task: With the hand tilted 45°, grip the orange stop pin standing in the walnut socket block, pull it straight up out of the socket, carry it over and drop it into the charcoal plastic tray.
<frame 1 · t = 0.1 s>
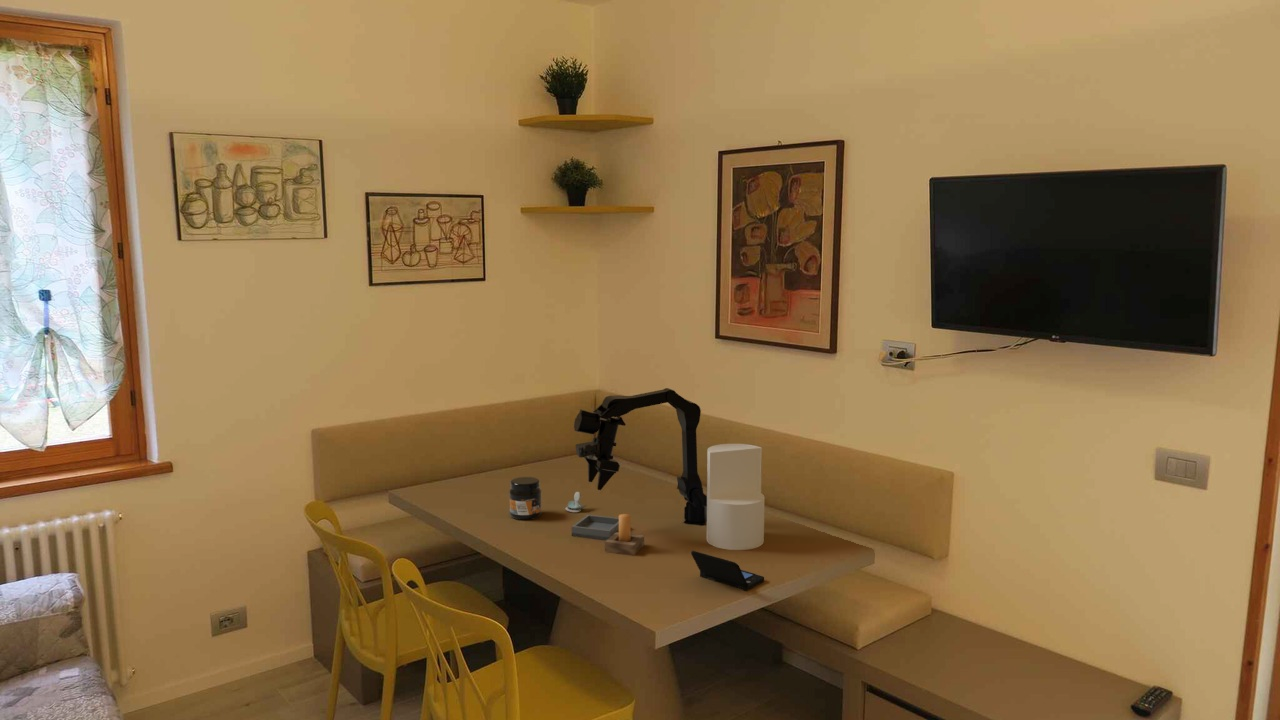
hand: (594, 485, 272), 15 cm above the table, tool pointing down, fingers open, 9 cm apart
supplement container: (525, 516, 293), on the table
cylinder: (735, 540, 269), on the table
stop pin: (624, 532, 261), in the socket block
game console: (727, 582, 237), on the table
socket block: (624, 548, 262), on the table
tray: (598, 531, 277), on the table
pacifier: (574, 511, 299), on the table
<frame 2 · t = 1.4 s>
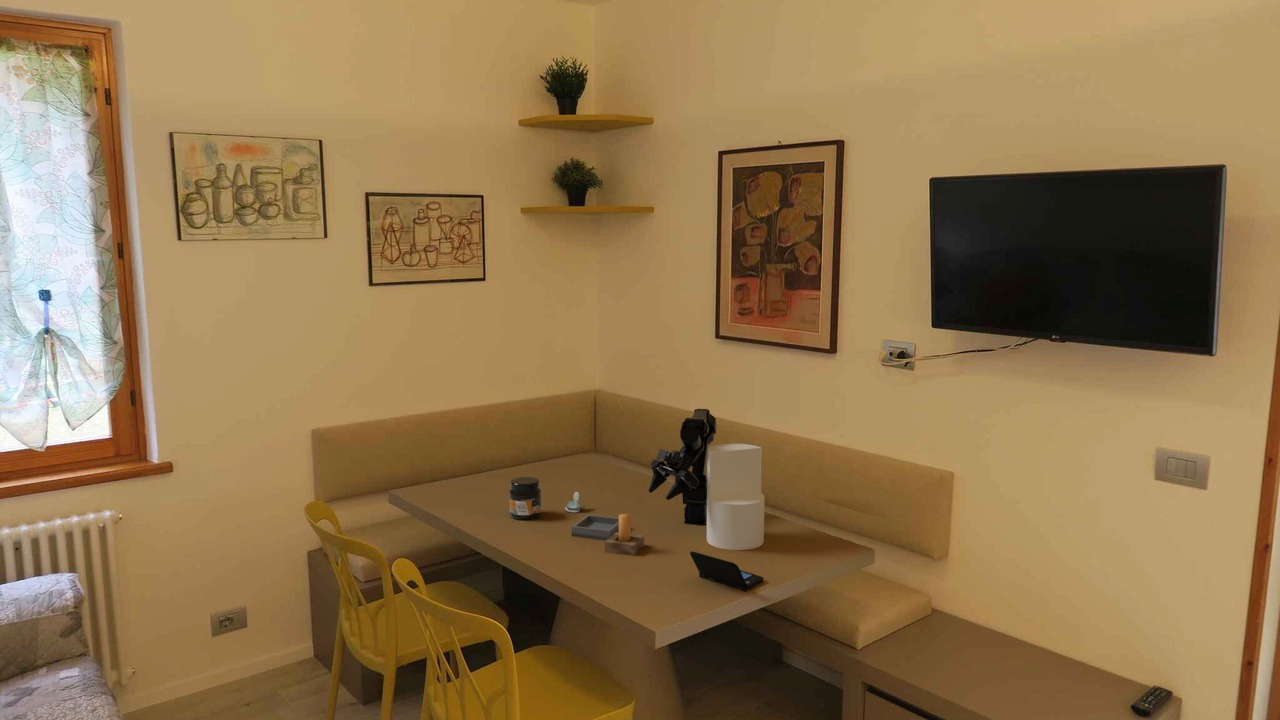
hand: (658, 495, 268), 14 cm above the table, tool tilted 45°, fingers open, 9 cm apart
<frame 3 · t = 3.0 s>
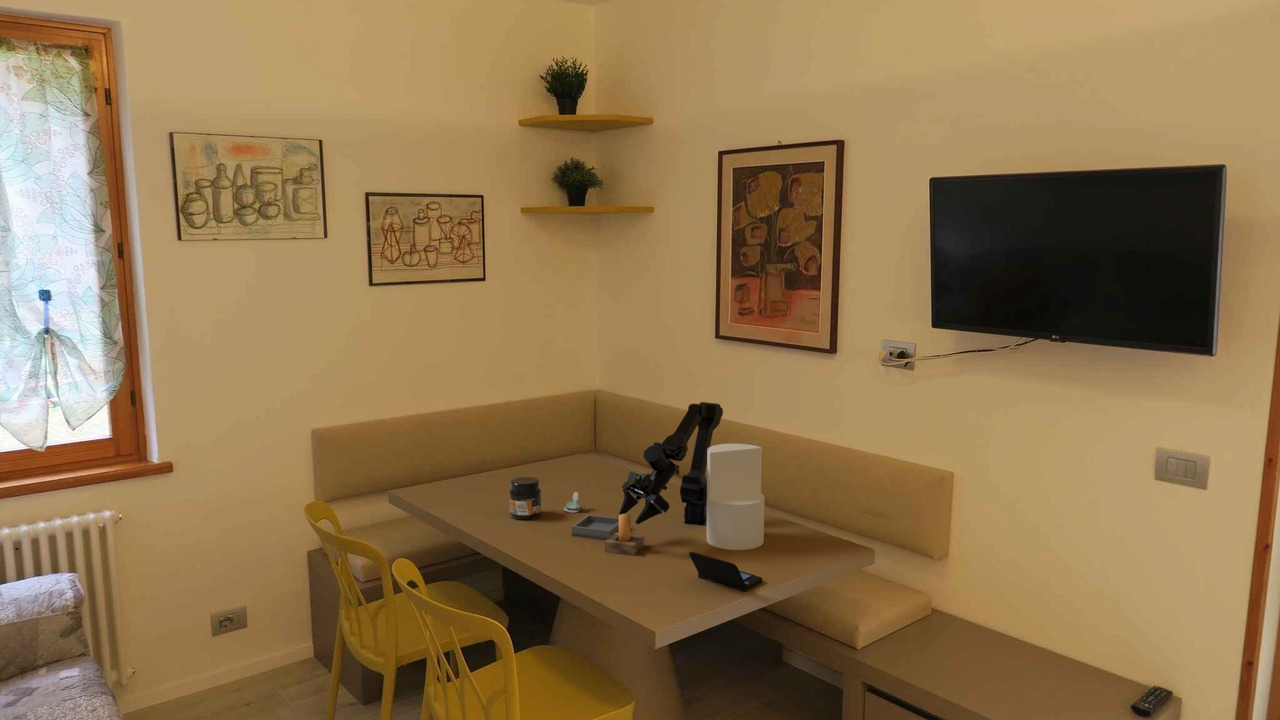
hand: (628, 519, 261), 9 cm above the table, tool tilted 45°, fingers open, 9 cm apart
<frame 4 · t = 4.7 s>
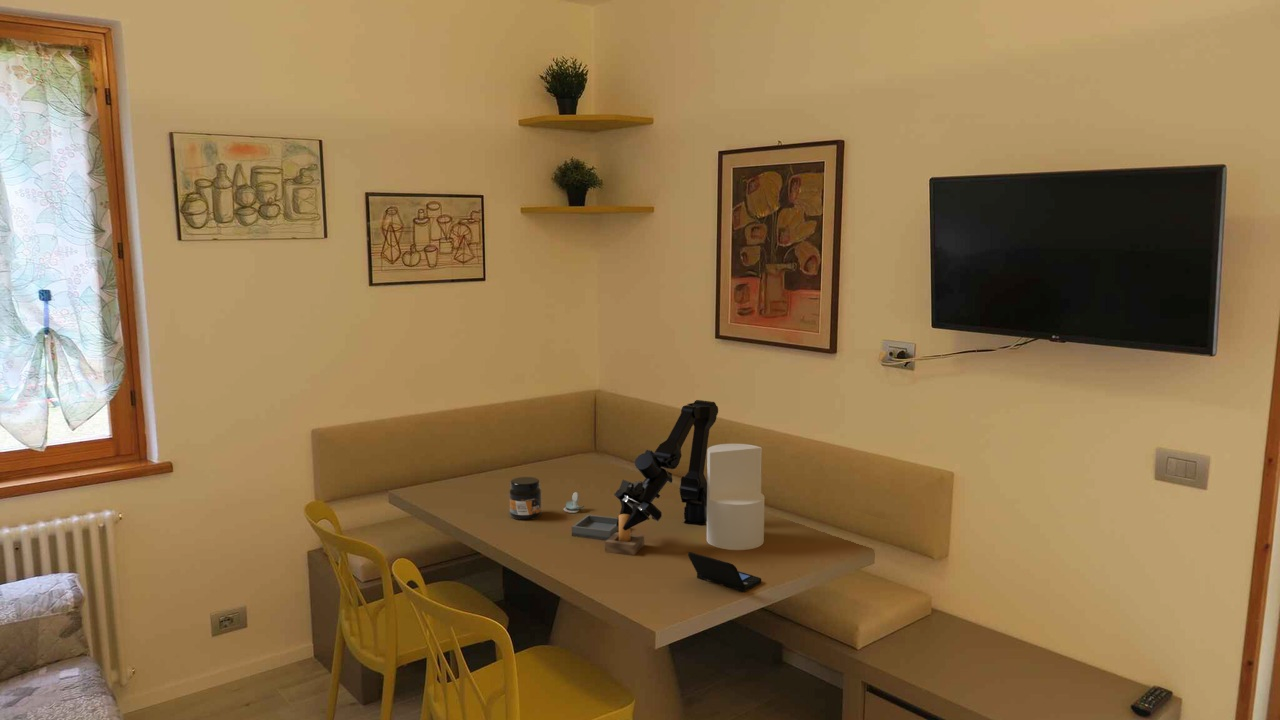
hand: (620, 527, 260), 7 cm above the table, tool tilted 45°, fingers closed on stop pin, 3 cm apart
stop pin: (624, 532, 261), in the socket block, touching gripper
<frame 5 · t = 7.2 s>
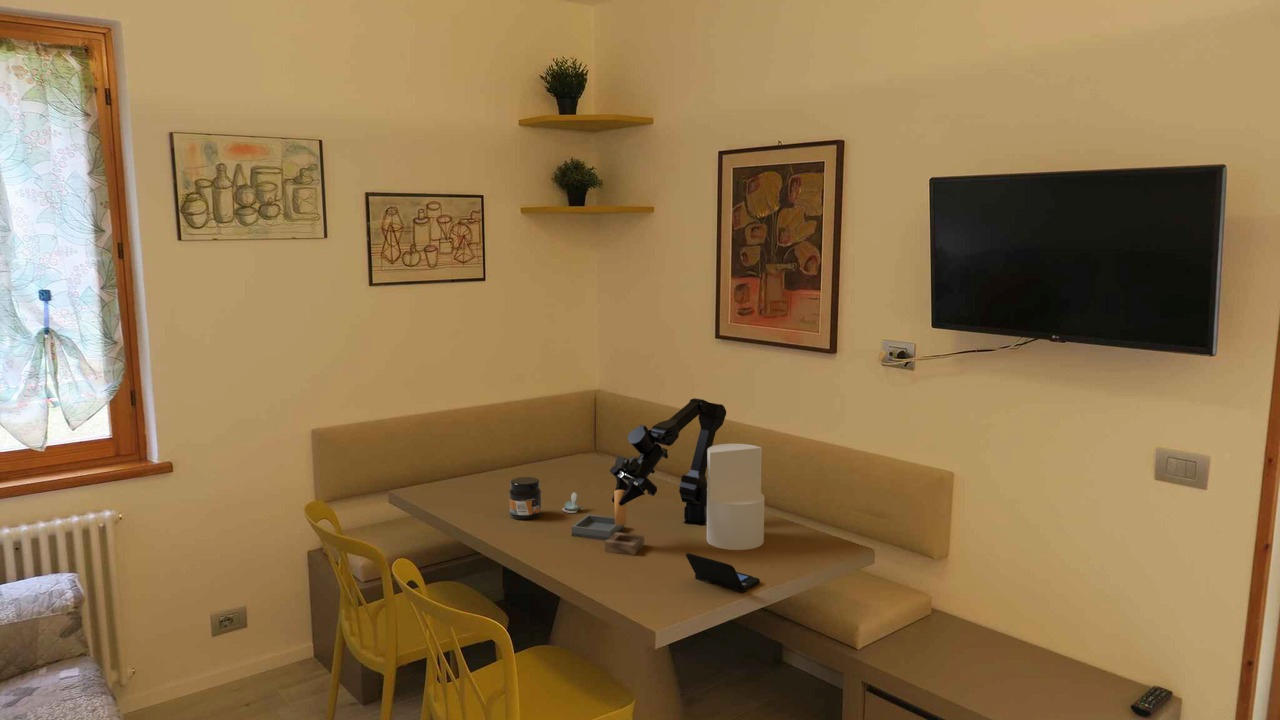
hand: (616, 503, 262), 13 cm above the table, tool tilted 45°, fingers closed on stop pin, 3 cm apart
stop pin: (620, 507, 263), point 12 cm above the table, touching gripper
when the fingers open (9 cm above the table, at t = 9.8 s): stop pin drops 2 cm, resting on tray.
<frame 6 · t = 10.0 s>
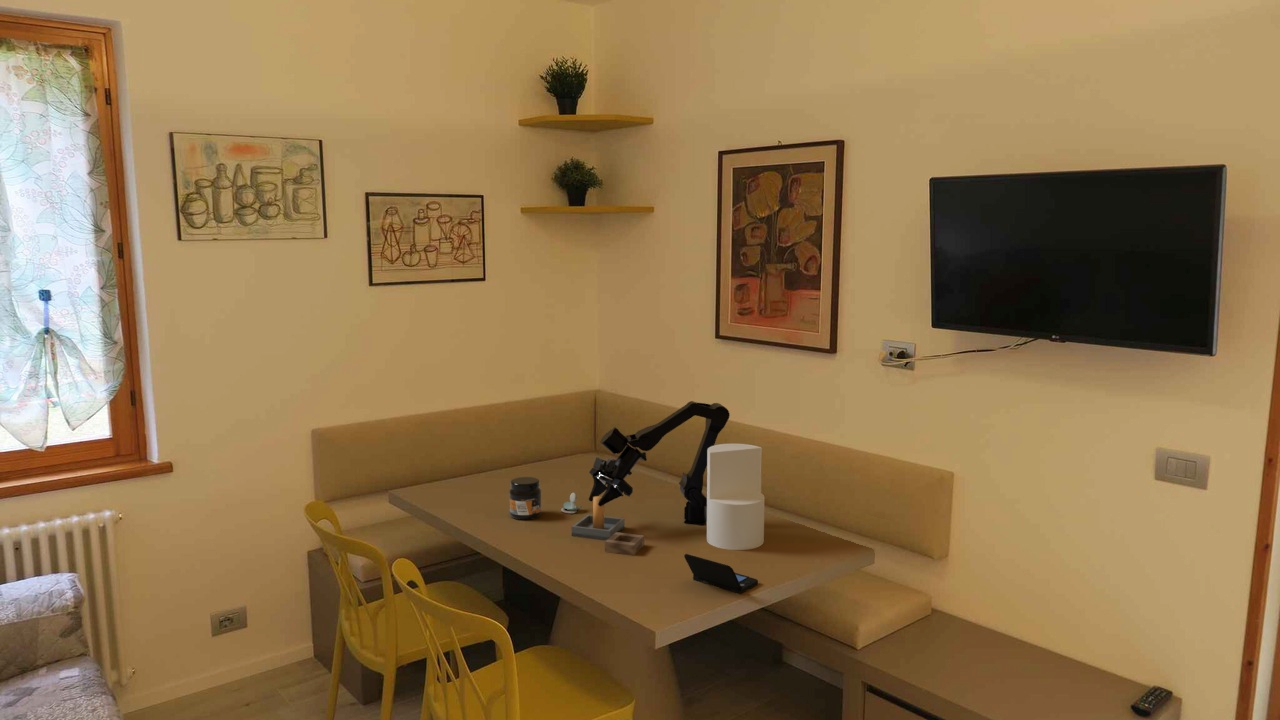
hand: (594, 503, 274), 10 cm above the table, tool tilted 45°, fingers open, 6 cm apart
stop pin: (598, 513, 276), in the tray, point 6 cm above the table
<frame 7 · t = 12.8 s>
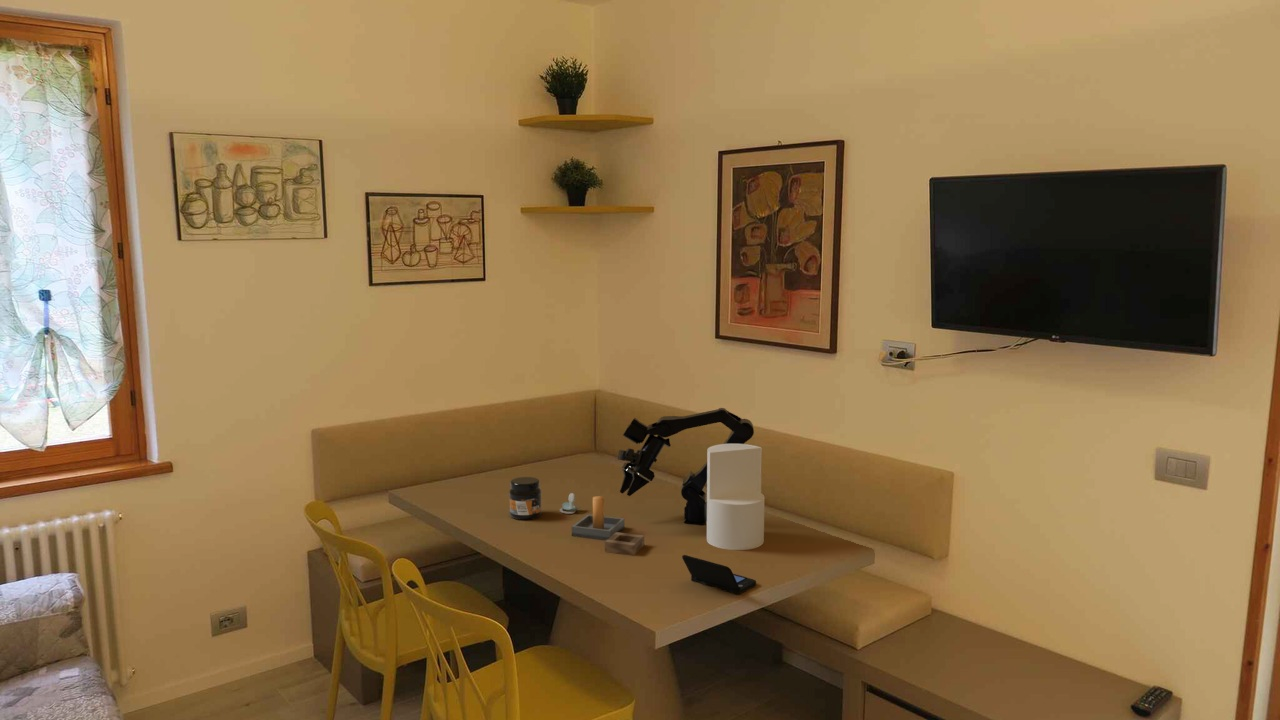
hand: (624, 494, 281), 10 cm above the table, tool tilted 35°, fingers open, 9 cm apart
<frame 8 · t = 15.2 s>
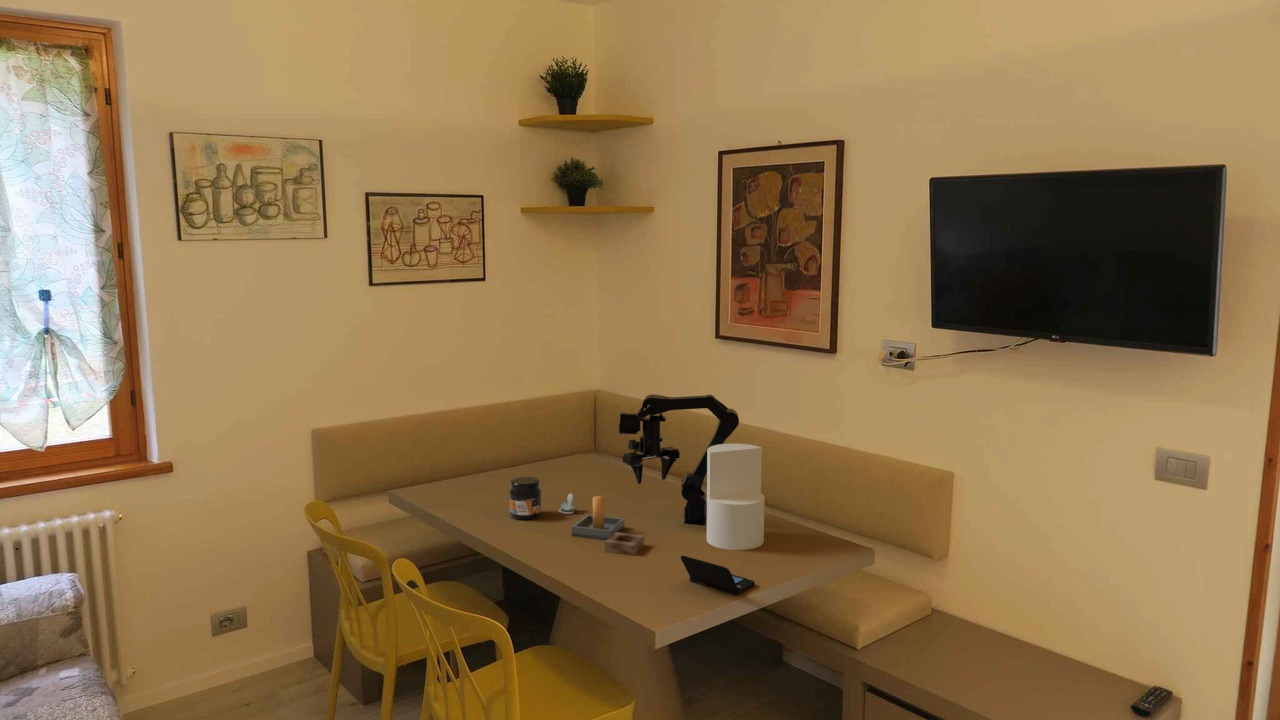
hand: (651, 481, 286), 13 cm above the table, tool pointing down, fingers open, 9 cm apart
at the end: stop pin inside the target area on the tray (0.0 cm from its centre), point 6.0 cm above the tray's base; the gripper is holding nothing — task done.
